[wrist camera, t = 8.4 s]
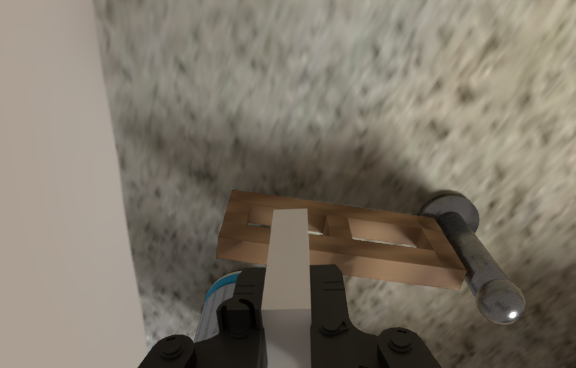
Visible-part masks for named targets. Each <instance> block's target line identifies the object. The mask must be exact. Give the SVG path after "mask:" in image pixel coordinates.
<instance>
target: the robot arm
mask: <svg viewBox="0 0 576 368" xmlns="http://www.w3.org/2000/svg"><path fill="white" fill-rule="evenodd" d="M216 314H217V320H218V327H219V333H218V334H217V335H215V336H213V337H211V338H209V339H206V340H203V341H199V342H196V343H193V341H192V339H191V338H190V337H188V336H185V335H171V336H168V337H165V338H163V339H162V340H160V341H158V342H157V343H156V344H155V345H154V346H153V347H152V349H151V350H150V351H149V353H148V354H147V356H146V357H145V358H144V360H143V361H142V362H141V364H140V365H139V367H138V368H441V366H440V365H439V364H438V362H437V361H436V359H435V358H434V356H433V355H432V354H431V352H430V351H429V349H428V348H427V346H426V345H425V343H424V342H423V341H422V339H421V338H420V337H419V336H418V335H417V334H416V333H414V332H412V331H410V330H408V329H405V328H400V327H396V328H389V329H386V330H384V331H383V332H382V333H381V334H380V335H379V336H375V335H371V334H367V333H364V332H362V331H360V330H358V329H357V328H356V327H355V326H353V324H352V323H351V321H350V319H349V314H348V307H347V301H346V295H345V288H344V283H343V275H342V271H341V270H340V269H339V268H338V267H337V266H336V264H326V265H310V257H309V235H308V213H307V209H282V210H274V211H273V219H272V227H271V235H270V243H269V251H268V259H267V267H266V268H244V269H243V270H242V271H241V273H240V274H239V275H238V276H237V279H236V284H235V288H234V293H233V297H232V298H229V299H227V300H225V301H223V302H222V303H221V304H220V305H219V306H218V308H217V310H216Z"/></svg>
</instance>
